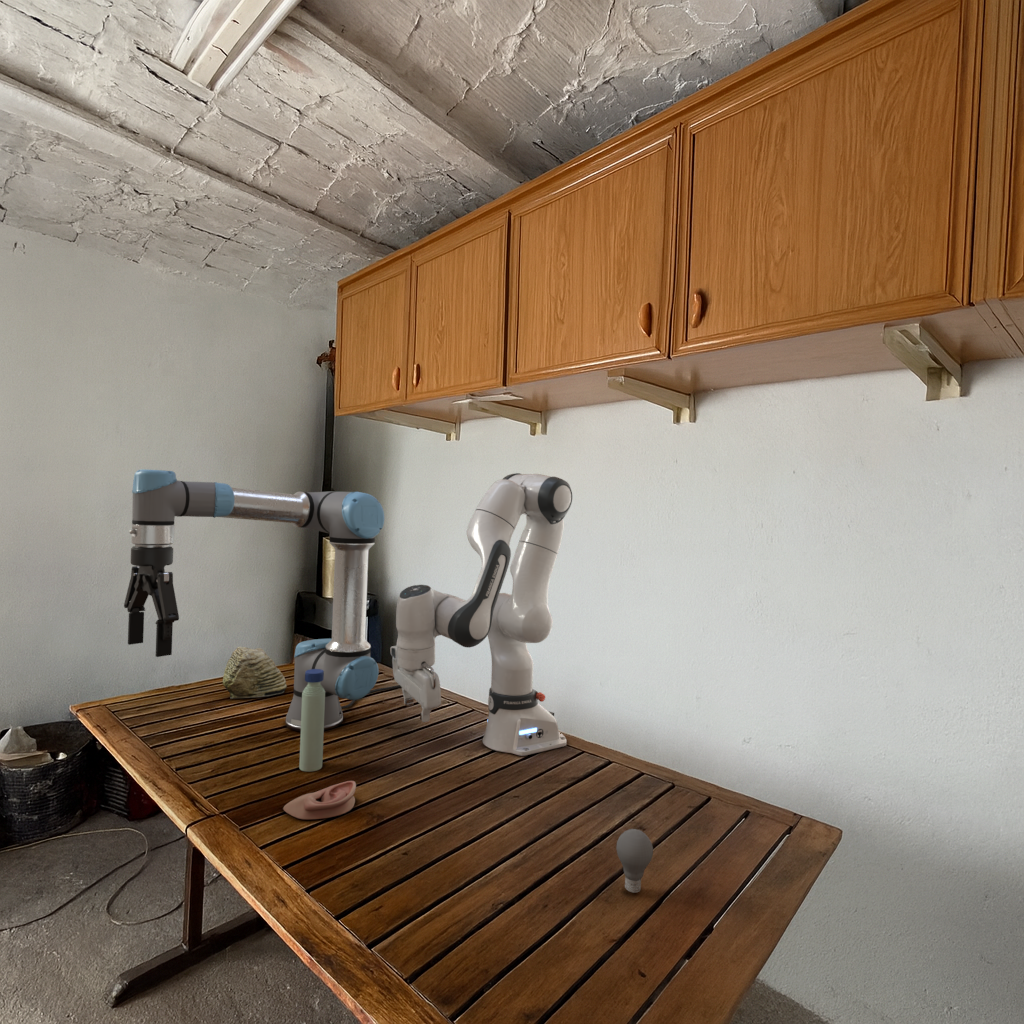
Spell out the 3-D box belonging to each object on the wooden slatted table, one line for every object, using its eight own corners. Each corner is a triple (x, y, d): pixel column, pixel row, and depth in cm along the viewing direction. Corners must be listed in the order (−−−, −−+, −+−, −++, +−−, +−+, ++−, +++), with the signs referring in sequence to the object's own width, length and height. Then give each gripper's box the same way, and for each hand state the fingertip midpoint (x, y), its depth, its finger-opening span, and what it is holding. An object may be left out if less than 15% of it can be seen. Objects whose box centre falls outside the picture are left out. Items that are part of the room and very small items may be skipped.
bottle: (320, 761, 151) (323, 669, 151) (324, 769, 147) (327, 674, 146) (297, 764, 149) (301, 671, 149) (301, 773, 145) (304, 676, 144)
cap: (321, 676, 150) (322, 668, 150) (325, 681, 147) (325, 672, 147) (303, 678, 149) (303, 669, 149) (306, 683, 145) (306, 674, 145)
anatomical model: (275, 795, 125) (305, 771, 136) (274, 815, 125) (304, 789, 136) (337, 804, 122) (363, 779, 133) (336, 825, 122) (362, 798, 133)
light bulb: (610, 879, 108) (613, 822, 108) (644, 879, 109) (647, 822, 109) (619, 902, 102) (622, 840, 102) (655, 901, 103) (658, 840, 103)
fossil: (218, 695, 195) (220, 647, 195) (278, 685, 208) (279, 640, 207) (228, 703, 189) (230, 653, 188) (289, 692, 201) (290, 645, 201)
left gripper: (108, 541, 134) (105, 641, 134) (159, 551, 118) (155, 664, 118) (146, 540, 140) (143, 636, 140) (200, 550, 124) (196, 657, 124)
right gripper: (448, 667, 139) (448, 727, 141) (411, 641, 156) (412, 694, 158) (421, 673, 136) (422, 734, 138) (387, 645, 153) (388, 700, 155)
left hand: (149, 649), depth 129 cm, fingers open, 13 cm apart
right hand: (416, 712), depth 148 cm, fingers open, 8 cm apart
